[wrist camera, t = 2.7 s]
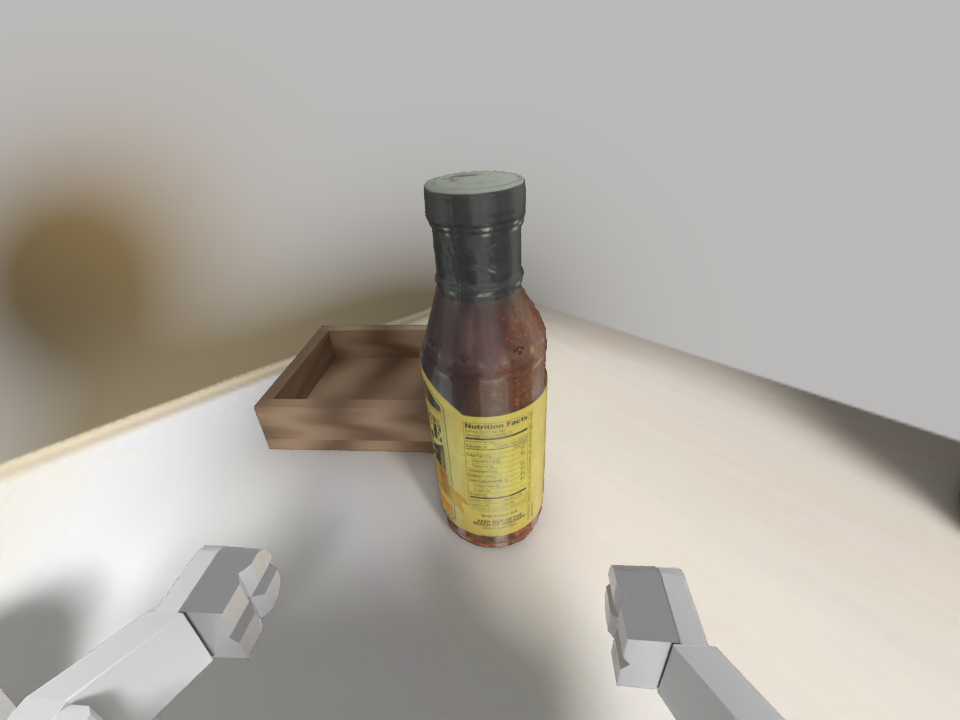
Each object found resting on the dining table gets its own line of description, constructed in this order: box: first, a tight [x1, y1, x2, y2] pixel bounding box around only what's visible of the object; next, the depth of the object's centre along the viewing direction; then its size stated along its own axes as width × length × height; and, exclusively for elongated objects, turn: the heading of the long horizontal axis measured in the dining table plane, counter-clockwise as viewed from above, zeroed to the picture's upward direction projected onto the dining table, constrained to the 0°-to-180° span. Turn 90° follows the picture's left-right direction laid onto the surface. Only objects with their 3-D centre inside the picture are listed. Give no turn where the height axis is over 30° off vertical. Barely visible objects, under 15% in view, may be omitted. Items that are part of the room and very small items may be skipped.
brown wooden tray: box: [254, 325, 434, 452], centre depth 38 cm, size 13×13×4 cm
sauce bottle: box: [420, 171, 547, 547], centre depth 23 cm, size 6×6×20 cm
